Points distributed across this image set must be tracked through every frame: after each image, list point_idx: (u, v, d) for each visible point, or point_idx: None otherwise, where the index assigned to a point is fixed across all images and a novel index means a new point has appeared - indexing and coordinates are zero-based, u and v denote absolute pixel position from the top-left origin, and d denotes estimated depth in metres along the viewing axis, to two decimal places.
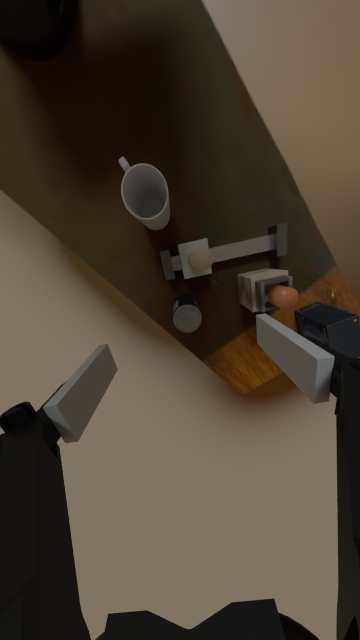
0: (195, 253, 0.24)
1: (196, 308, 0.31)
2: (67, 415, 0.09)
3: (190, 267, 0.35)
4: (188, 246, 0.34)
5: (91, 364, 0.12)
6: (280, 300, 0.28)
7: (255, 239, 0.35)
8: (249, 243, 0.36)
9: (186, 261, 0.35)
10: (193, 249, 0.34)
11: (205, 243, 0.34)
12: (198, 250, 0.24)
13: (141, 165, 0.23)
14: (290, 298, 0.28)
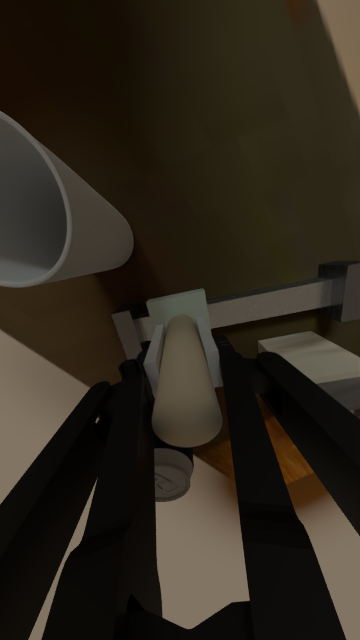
0: (162, 409, 0.07)
1: (180, 456, 0.14)
2: None
3: None
4: (167, 306, 0.17)
5: (161, 337, 0.14)
6: None
7: (298, 288, 0.18)
8: (285, 295, 0.19)
9: None
10: (177, 311, 0.17)
11: (201, 300, 0.17)
12: (172, 402, 0.07)
13: None
14: None
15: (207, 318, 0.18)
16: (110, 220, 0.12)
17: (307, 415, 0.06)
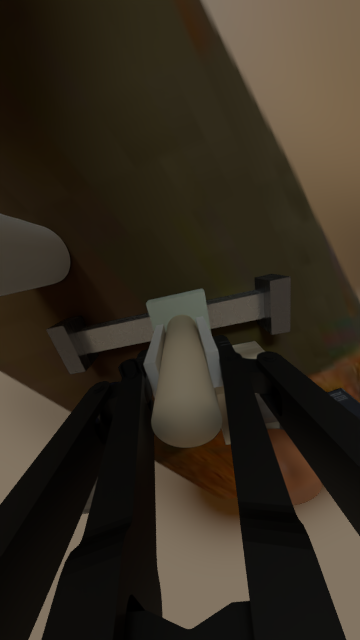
0: (162, 409, 0.07)
1: None
2: None
3: None
4: (167, 306, 0.17)
5: (160, 337, 0.14)
6: None
7: (230, 302, 0.19)
8: (219, 308, 0.19)
9: None
10: (177, 311, 0.17)
11: (201, 300, 0.17)
12: (171, 402, 0.07)
13: None
14: (301, 489, 0.11)
15: (207, 318, 0.18)
16: (12, 246, 0.12)
17: (307, 415, 0.06)
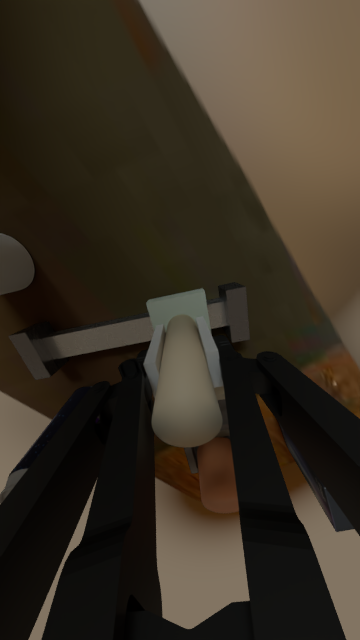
0: (162, 409, 0.07)
1: None
2: None
3: None
4: (167, 306, 0.17)
5: (160, 337, 0.14)
6: (211, 501, 0.12)
7: None
8: None
9: None
10: (177, 311, 0.17)
11: (201, 300, 0.17)
12: (172, 402, 0.07)
13: None
14: (234, 498, 0.11)
15: (207, 318, 0.18)
16: None
17: (307, 415, 0.06)
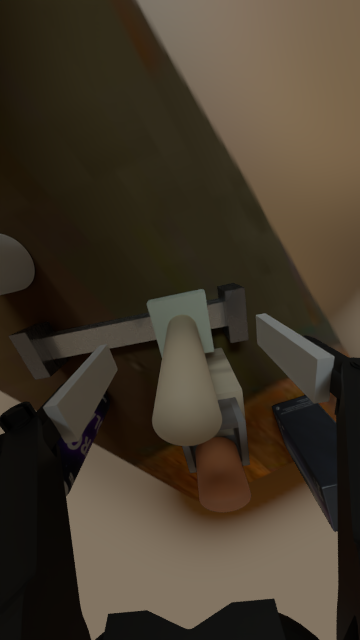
0: (163, 408, 0.07)
1: None
2: (67, 415, 0.09)
3: None
4: (167, 306, 0.17)
5: (91, 364, 0.12)
6: (209, 500, 0.12)
7: None
8: None
9: (165, 332, 0.18)
10: (178, 311, 0.17)
11: (201, 301, 0.17)
12: (172, 401, 0.07)
13: None
14: (232, 497, 0.12)
15: (207, 318, 0.18)
16: None
17: None
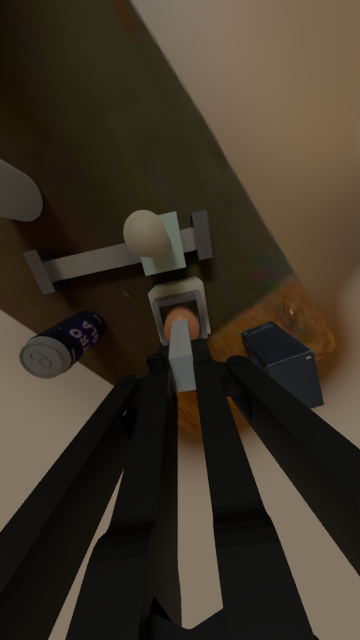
0: (129, 222, 0.12)
1: (56, 342, 0.20)
2: None
3: (153, 258, 0.23)
4: None
5: (179, 333, 0.14)
6: None
7: None
8: None
9: None
10: None
11: (173, 220, 0.22)
12: (134, 215, 0.12)
13: None
14: None
15: (178, 236, 0.23)
16: None
17: (273, 417, 0.06)
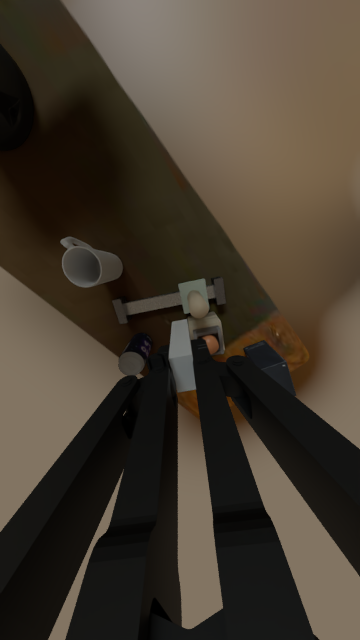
0: (192, 304, 0.28)
1: (138, 355, 0.35)
2: None
3: (189, 303, 0.39)
4: (187, 286, 0.38)
5: (179, 333, 0.14)
6: None
7: None
8: None
9: (186, 298, 0.38)
10: (192, 288, 0.38)
11: (203, 283, 0.37)
12: (195, 302, 0.28)
13: (77, 247, 0.28)
14: (212, 346, 0.34)
15: (205, 292, 0.38)
16: (111, 264, 0.33)
17: (273, 417, 0.06)
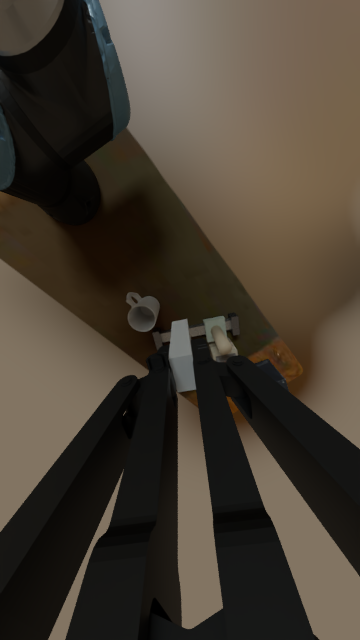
0: (221, 345, 0.40)
1: None
2: None
3: (212, 335, 0.51)
4: (211, 322, 0.49)
5: (179, 333, 0.14)
6: None
7: None
8: None
9: (209, 331, 0.50)
10: (214, 324, 0.49)
11: (223, 320, 0.49)
12: (223, 344, 0.39)
13: (139, 306, 0.39)
14: None
15: (225, 326, 0.50)
16: (157, 310, 0.45)
17: (273, 417, 0.06)
